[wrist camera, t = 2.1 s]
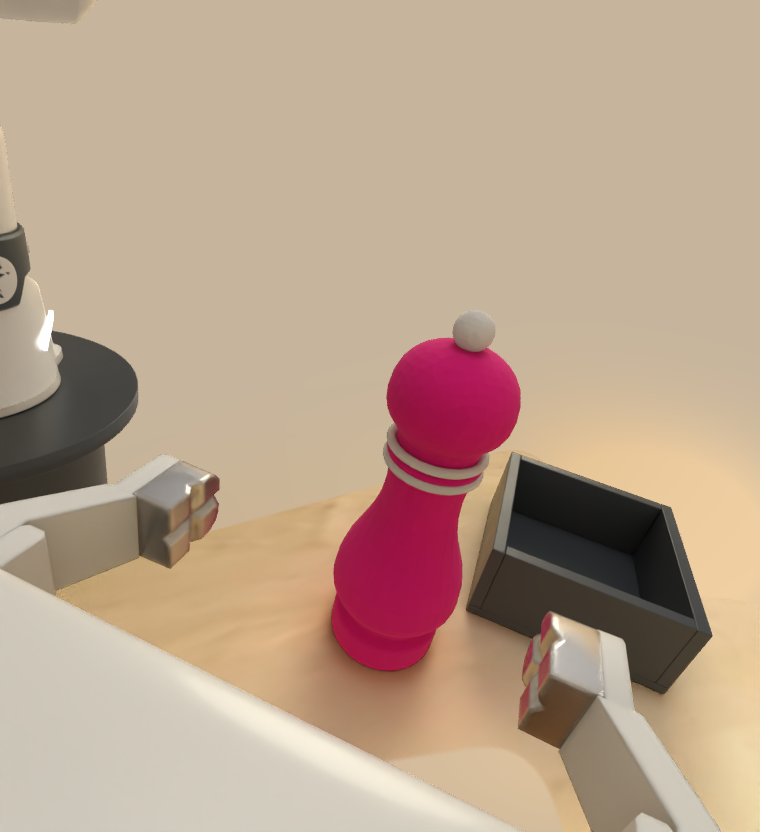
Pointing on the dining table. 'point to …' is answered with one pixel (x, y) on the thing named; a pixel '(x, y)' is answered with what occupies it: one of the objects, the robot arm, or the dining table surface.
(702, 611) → the bin
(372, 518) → the pepper mill
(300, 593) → the dining table surface
